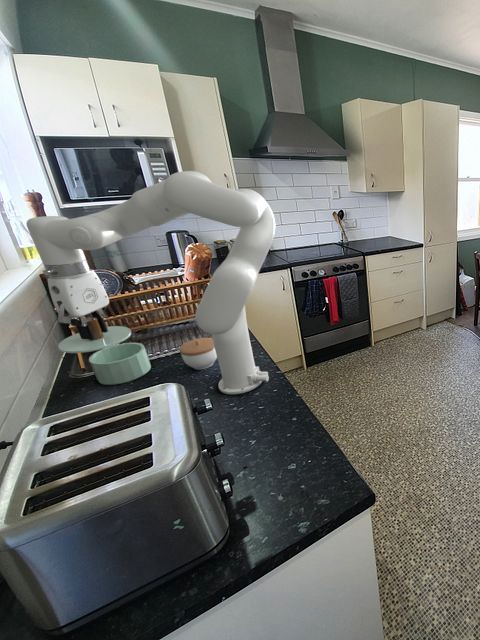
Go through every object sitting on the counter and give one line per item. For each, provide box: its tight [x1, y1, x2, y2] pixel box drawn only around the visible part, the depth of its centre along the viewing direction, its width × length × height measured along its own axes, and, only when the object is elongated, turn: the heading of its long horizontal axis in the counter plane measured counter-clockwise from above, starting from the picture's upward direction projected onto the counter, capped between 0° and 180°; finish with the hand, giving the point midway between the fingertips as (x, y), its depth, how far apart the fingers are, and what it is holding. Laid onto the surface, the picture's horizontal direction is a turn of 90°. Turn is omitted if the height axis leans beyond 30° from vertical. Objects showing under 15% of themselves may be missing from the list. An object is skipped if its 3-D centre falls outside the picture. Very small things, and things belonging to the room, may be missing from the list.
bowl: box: [88, 342, 152, 386], centre depth 112 cm, size 14×14×8 cm
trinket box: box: [178, 337, 218, 371], centre depth 117 cm, size 11×11×9 cm
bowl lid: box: [57, 316, 132, 354], centre depth 92 cm, size 15×15×7 cm
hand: (95, 334), depth 92 cm, fingers closed on bowl lid, 3 cm apart
